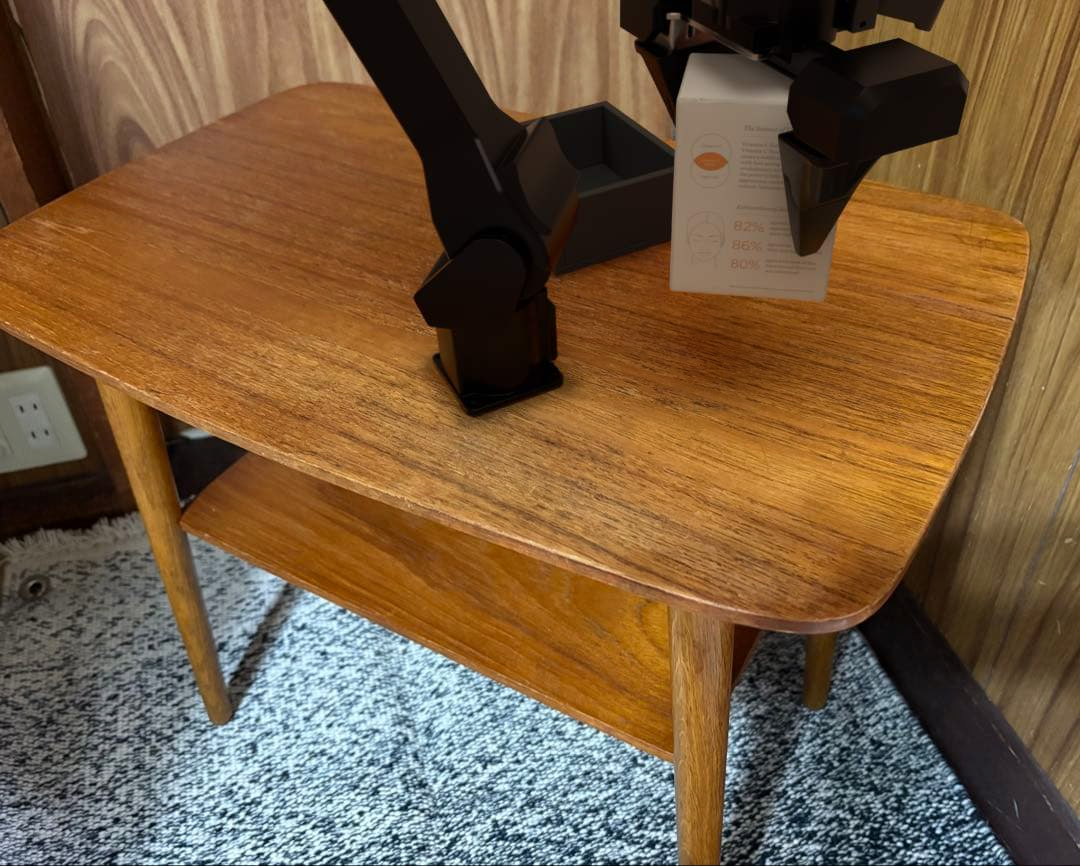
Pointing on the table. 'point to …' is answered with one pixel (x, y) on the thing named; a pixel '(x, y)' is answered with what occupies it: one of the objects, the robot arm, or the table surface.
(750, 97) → the small box
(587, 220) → the storage bin
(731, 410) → the table surface
